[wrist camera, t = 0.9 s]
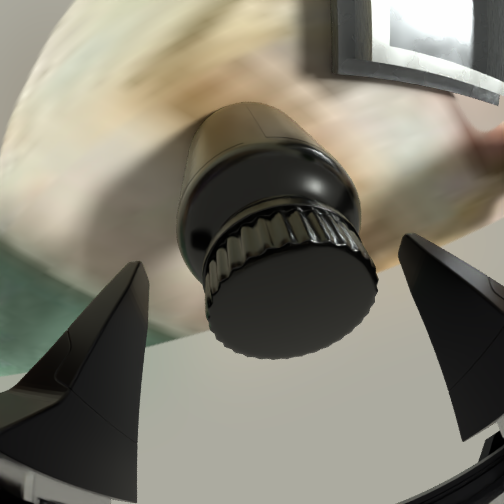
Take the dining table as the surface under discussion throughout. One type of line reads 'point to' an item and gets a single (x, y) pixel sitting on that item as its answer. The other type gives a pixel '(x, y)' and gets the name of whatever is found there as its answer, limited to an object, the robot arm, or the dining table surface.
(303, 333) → the supplement bottle
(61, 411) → the robot arm
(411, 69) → the gray square tray
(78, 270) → the dining table surface
